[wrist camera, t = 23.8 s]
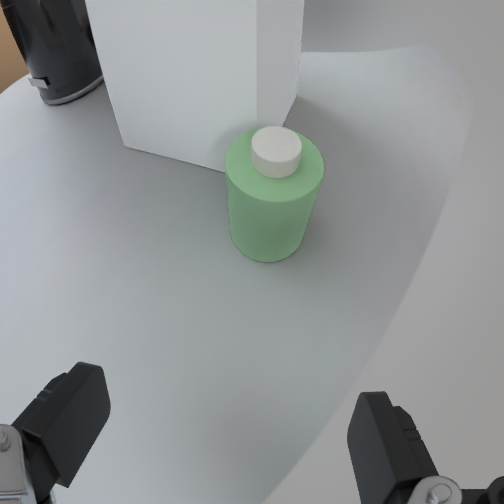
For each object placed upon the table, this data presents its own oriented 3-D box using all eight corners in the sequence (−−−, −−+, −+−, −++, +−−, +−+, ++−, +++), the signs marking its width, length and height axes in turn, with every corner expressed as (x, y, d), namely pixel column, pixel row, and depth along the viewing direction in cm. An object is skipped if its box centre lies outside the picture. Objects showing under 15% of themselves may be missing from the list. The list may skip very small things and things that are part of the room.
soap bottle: (234, 196, 23) (229, 105, 16) (303, 201, 23) (325, 113, 16) (226, 259, 21) (216, 180, 14) (302, 265, 21) (333, 190, 13)
